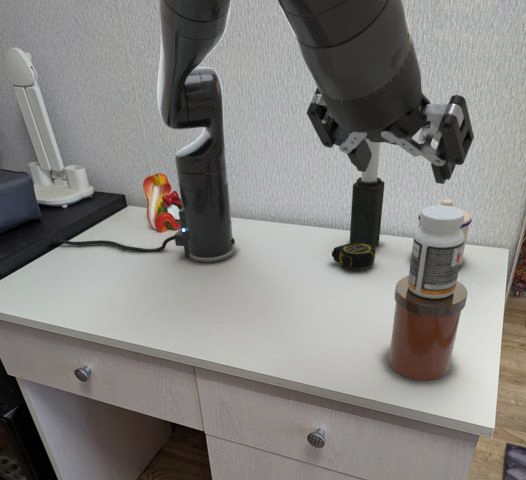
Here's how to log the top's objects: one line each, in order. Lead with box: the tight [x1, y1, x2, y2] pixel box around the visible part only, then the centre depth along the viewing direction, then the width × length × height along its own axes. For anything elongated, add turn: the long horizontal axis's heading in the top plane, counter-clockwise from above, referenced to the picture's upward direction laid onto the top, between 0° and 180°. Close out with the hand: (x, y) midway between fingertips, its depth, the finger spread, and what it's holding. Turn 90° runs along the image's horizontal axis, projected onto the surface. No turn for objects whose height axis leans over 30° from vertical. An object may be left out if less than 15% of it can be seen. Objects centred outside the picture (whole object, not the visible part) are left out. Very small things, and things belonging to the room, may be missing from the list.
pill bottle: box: [408, 204, 464, 299], centre depth 59 cm, size 6×6×10 cm
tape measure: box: [331, 242, 376, 270], centre depth 93 cm, size 7×7×4 cm
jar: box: [388, 275, 468, 382], centre depth 65 cm, size 9×9×12 cm
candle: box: [349, 138, 386, 249], centre depth 93 cm, size 5×5×25 cm
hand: (403, 169), depth 51 cm, fingers open, 8 cm apart
